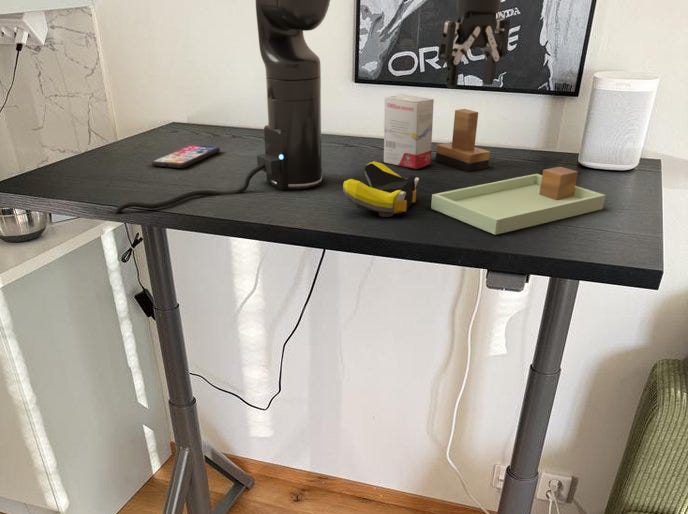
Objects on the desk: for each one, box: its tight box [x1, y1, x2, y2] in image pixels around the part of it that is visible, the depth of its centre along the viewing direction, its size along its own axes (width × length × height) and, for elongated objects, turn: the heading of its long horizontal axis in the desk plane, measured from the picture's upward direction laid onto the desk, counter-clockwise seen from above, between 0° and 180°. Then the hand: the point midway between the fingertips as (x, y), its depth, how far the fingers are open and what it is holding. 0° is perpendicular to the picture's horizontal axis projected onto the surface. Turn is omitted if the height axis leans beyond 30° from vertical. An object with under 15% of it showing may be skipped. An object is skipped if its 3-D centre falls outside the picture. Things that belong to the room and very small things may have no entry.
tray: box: [430, 173, 606, 236], centre depth 119 cm, size 24×16×2 cm, turn 122°
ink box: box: [383, 93, 435, 170], centre depth 140 cm, size 9×5×12 cm, turn 44°
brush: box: [435, 108, 491, 172], centre depth 140 cm, size 5×10×10 cm, turn 32°
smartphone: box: [151, 144, 221, 169], centre depth 147 cm, size 8×1×15 cm
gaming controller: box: [342, 161, 420, 218], centre depth 120 cm, size 15×6×10 cm
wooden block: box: [539, 166, 579, 200], centre depth 122 cm, size 4×4×4 cm
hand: (469, 86), depth 134 cm, fingers open, 8 cm apart
